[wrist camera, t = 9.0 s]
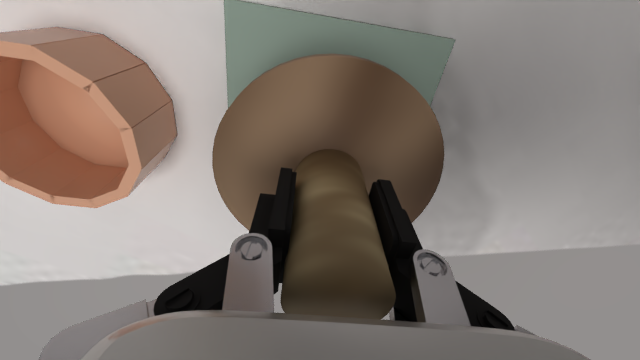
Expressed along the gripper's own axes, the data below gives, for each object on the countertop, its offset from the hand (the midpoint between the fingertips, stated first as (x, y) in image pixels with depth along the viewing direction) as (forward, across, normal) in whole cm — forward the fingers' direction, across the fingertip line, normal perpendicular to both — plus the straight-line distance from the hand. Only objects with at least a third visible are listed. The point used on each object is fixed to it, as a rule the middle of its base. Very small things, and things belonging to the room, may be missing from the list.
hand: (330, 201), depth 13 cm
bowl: (+9, +16, +1) cm, 18 cm away
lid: (+3, 0, 0) cm, 3 cm away
